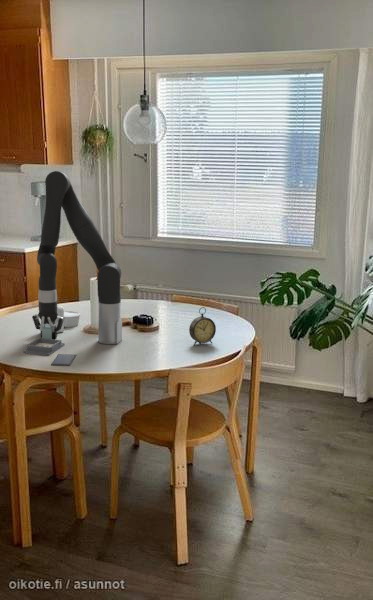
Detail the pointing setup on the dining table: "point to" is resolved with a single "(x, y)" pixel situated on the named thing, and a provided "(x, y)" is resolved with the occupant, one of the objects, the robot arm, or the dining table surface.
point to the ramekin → (71, 318)
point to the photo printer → (60, 313)
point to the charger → (47, 332)
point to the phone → (63, 359)
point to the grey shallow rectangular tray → (43, 346)
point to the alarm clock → (202, 329)
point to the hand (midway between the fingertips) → (48, 339)
